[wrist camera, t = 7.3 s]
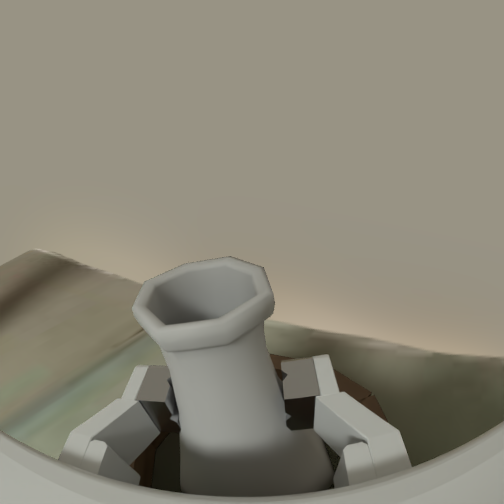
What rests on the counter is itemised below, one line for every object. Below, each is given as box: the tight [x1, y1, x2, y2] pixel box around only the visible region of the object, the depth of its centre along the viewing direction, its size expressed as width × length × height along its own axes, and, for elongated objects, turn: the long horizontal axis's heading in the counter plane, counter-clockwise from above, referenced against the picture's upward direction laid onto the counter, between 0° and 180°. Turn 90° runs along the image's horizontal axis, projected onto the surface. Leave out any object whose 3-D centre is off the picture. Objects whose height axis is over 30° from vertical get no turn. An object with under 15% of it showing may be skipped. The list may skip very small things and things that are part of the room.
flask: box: [132, 256, 335, 497], centre depth 8 cm, size 7×7×10 cm
